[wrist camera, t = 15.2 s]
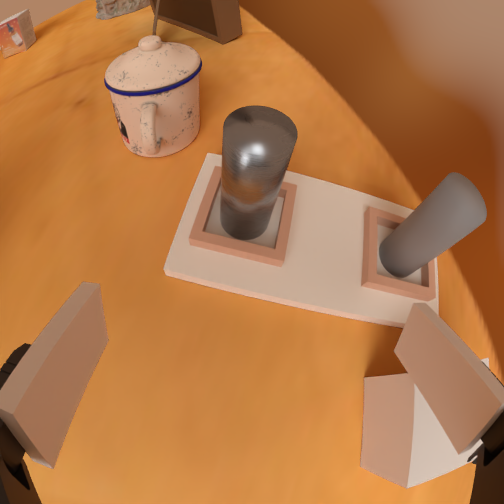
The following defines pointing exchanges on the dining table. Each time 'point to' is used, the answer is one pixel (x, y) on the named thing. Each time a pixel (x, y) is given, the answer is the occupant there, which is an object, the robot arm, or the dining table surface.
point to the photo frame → (201, 17)
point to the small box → (16, 34)
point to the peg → (253, 168)
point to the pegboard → (327, 246)
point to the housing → (405, 433)
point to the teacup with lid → (156, 96)
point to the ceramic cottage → (118, 7)
